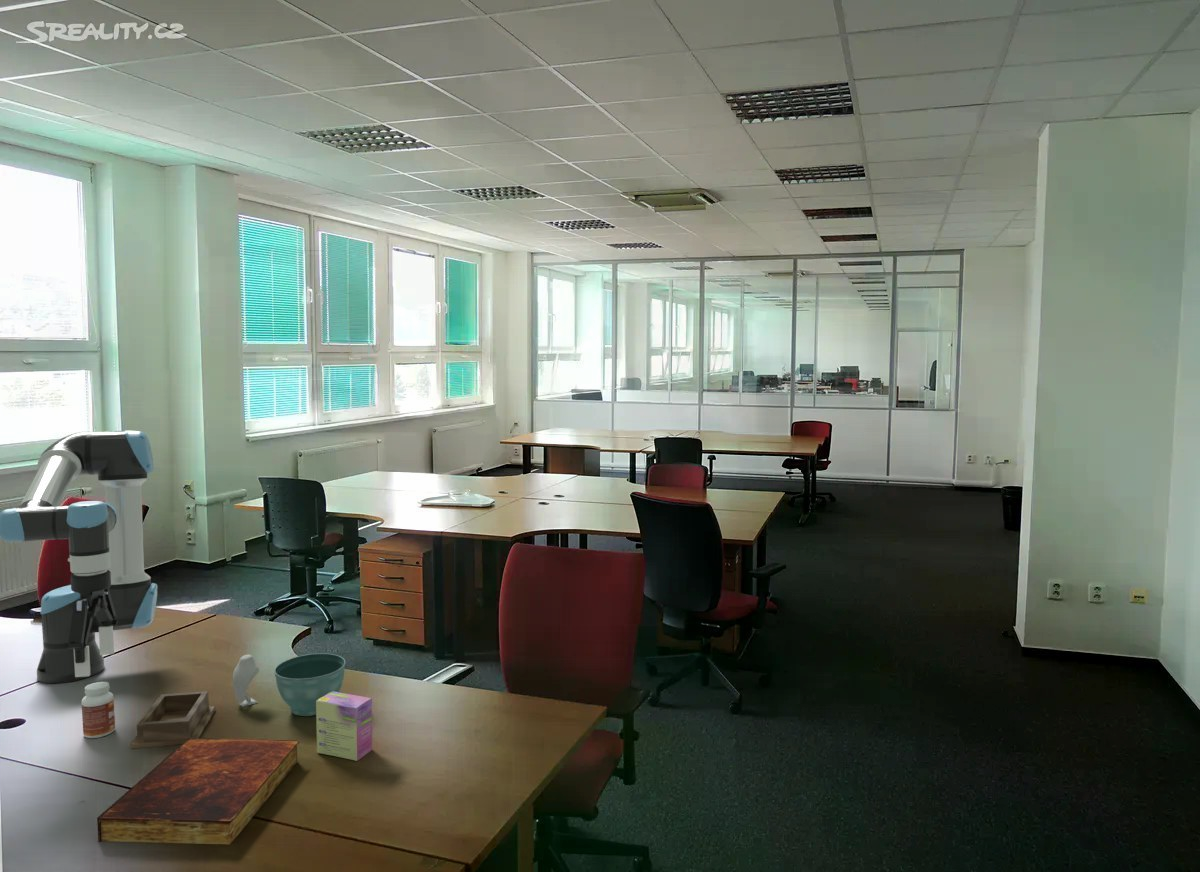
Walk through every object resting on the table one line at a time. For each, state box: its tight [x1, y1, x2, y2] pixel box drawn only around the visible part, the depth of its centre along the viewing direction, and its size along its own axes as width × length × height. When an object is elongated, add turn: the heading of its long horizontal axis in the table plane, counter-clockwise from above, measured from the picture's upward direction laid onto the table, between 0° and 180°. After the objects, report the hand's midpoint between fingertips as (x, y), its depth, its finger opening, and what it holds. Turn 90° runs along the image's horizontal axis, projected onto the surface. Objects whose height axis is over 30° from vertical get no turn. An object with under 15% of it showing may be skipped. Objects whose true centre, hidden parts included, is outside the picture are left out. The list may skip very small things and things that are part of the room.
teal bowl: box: [273, 652, 346, 717], centre depth 194 cm, size 16×16×11 cm
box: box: [315, 691, 373, 762], centre depth 173 cm, size 10×6×12 cm, turn 71°
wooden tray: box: [130, 690, 216, 749], centre depth 184 cm, size 17×13×5 cm
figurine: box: [232, 654, 260, 708], centre depth 197 cm, size 8×5×12 cm
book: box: [96, 737, 300, 845], centre depth 155 cm, size 30×24×5 cm
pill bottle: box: [81, 681, 116, 739], centre depth 181 cm, size 6×6×11 cm
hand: (95, 664), depth 180 cm, fingers open, 13 cm apart
